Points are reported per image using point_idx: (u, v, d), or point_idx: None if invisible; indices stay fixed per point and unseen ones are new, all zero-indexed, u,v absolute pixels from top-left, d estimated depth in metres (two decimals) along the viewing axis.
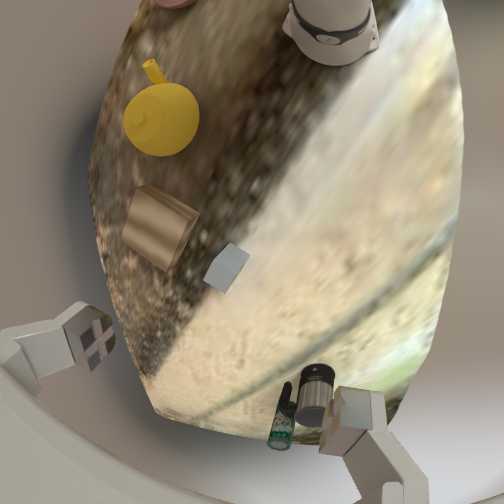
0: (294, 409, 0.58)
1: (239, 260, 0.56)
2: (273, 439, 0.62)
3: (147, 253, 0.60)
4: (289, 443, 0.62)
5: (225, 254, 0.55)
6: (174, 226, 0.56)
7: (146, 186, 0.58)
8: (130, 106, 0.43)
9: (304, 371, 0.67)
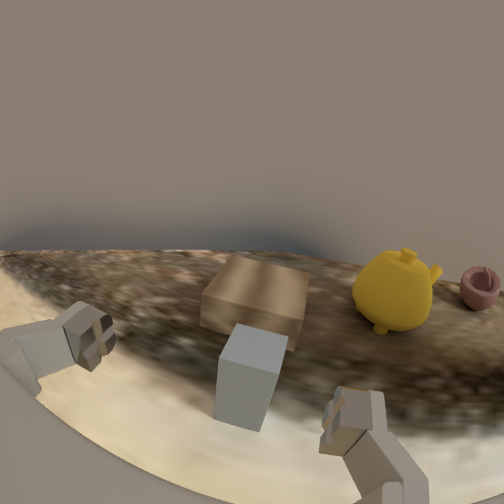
0: None
1: None
2: None
3: (225, 276, 0.43)
4: None
5: None
6: (285, 306, 0.37)
7: None
8: None
9: None
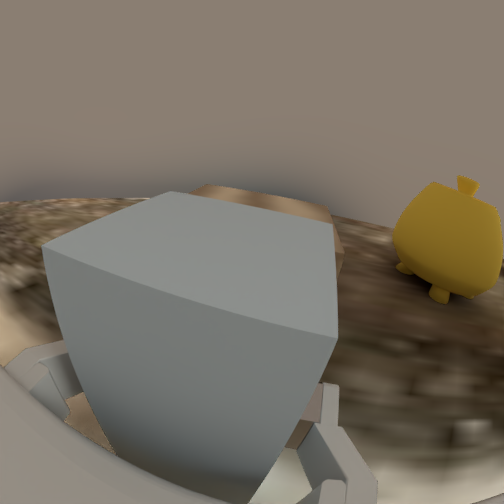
0: None
1: None
2: None
3: None
4: None
5: None
6: None
7: None
8: None
9: None
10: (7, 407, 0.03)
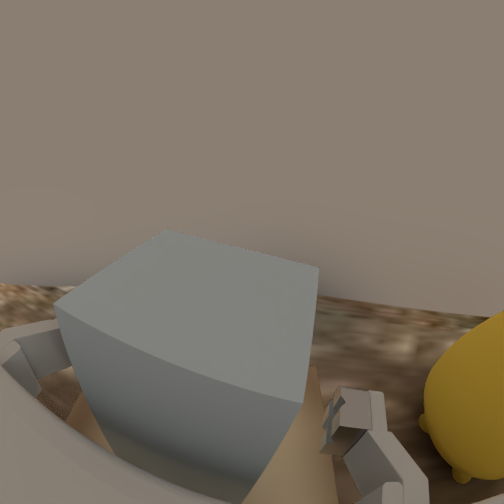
0: None
1: None
2: None
3: (85, 434, 0.10)
4: None
5: None
6: None
7: None
8: None
9: None
10: (7, 407, 0.03)
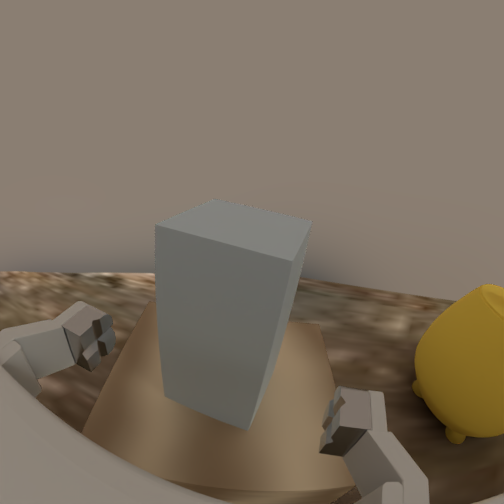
0: None
1: (271, 360, 0.12)
2: None
3: (132, 376, 0.14)
4: None
5: (290, 308, 0.14)
6: (302, 454, 0.11)
7: None
8: None
9: None
10: (7, 407, 0.03)
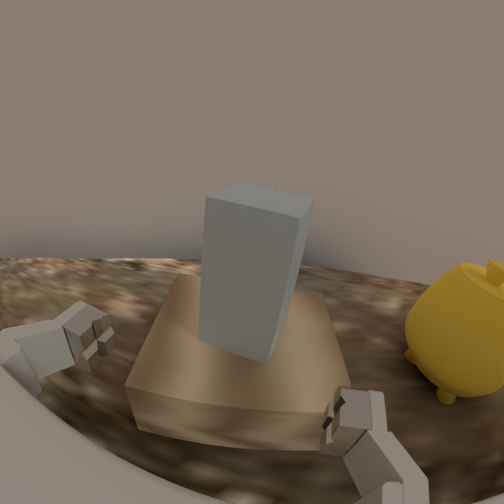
0: None
1: (285, 299, 0.16)
2: None
3: (171, 328, 0.19)
4: None
5: (299, 264, 0.18)
6: (313, 385, 0.16)
7: None
8: (485, 269, 0.23)
9: None
10: (7, 407, 0.03)
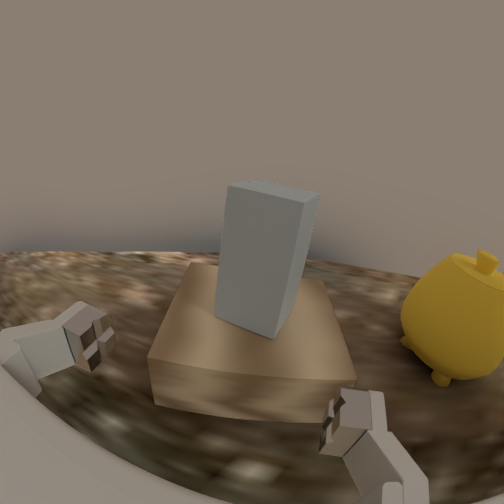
0: None
1: (291, 277, 0.19)
2: None
3: (187, 308, 0.22)
4: None
5: (305, 251, 0.21)
6: (316, 356, 0.19)
7: None
8: (476, 260, 0.25)
9: None
10: (7, 407, 0.03)
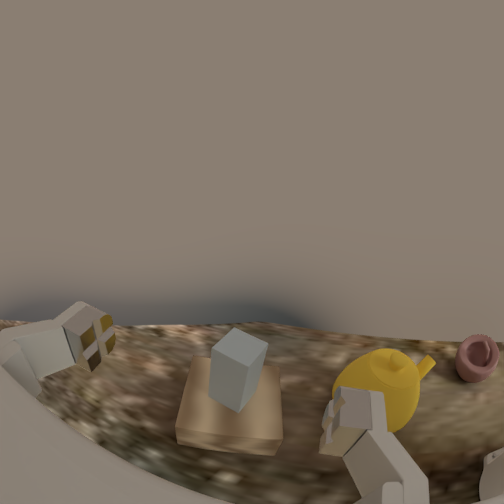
0: None
1: (247, 388, 0.32)
2: None
3: (193, 394, 0.35)
4: None
5: (259, 370, 0.35)
6: (262, 425, 0.32)
7: None
8: None
9: None
10: (7, 407, 0.03)
